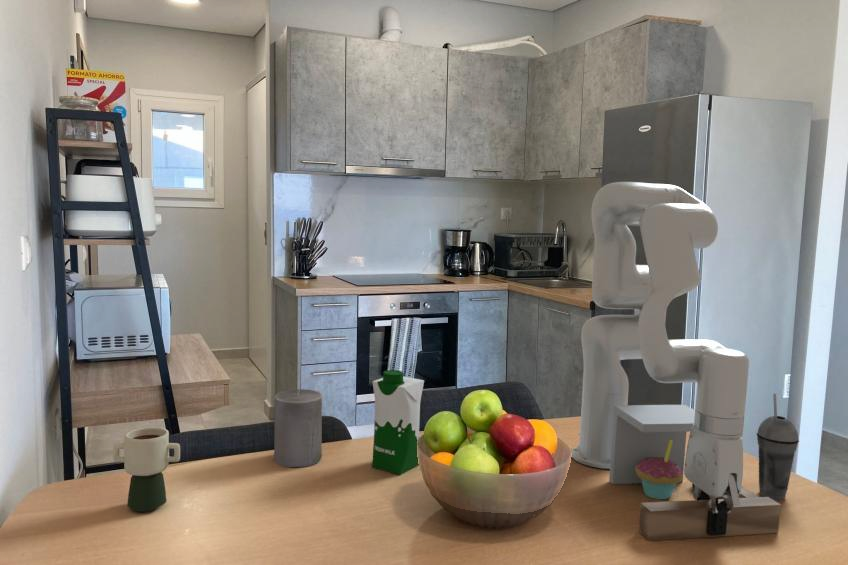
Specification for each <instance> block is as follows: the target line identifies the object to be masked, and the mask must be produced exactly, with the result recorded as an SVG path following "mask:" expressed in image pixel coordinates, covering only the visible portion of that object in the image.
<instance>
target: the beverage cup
mask: <svg viewBox="0 0 848 565" xmlns="http://www.w3.org/2000/svg"><path fill="white" fill-rule="evenodd" d="M772 396H773V415H772V416H769V417H767V418H765V419H764V420H762V422H761V423H760V424H759V427H758V429H757V432H756V436H757V437H756V438H757V446H758V488H759V491H758V492H759V493H758V494H760V495H761V497H769V498H771V499H773V500H774V501H782V500H785V499H786V495H787V491H788V487H789V485H790V484H789V483H790V477H791V473H792V466H793V462H794V456H795V452H796V450H797V447H798V443H800V440H799V432H798V429H797V427H796V425H795V424H794V423H793V422H792V421H791V420H789V418H787V417H784V416H780V415H778V408H777V406H778V405H777V403H778V402H777V393H773V395H772Z"/></svg>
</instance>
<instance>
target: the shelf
mask: <svg viewBox="0 0 848 565" xmlns="http://www.w3.org/2000/svg"><path fill="white" fill-rule="evenodd" d="M694 416H695V408H692V407H690V406H688V405H686V404H633V405H631V404H630V405H629V404H627V405H614V418H613V433H612V448H611V463H610V469H609V481H608V482H609V483H610V484H611V485H627V484H628V485H629V484H630V485H631V484H632V483H634V484H642V481H641V478H639V477H638V476H637V474H636V471H635V467H636V465H637V463H638V462H639V461H641V460H643V459H645V458H647V457H649V458H650V457H665V455H666V451H667V447H668V443H669V439H671V438H672V436H673V439H672V440H673V442H672V446H671V450H670V454H669V458H668V459H670V460H671V461H673V462H674V463H675V464H677V465H678V466H679V468H681V470H682V471H683V472H682V473H683V474H684V467H685V458H686V444H687V443H686V442H687V433H688V432H689V433H690V432H691V428H692V425H693V424H694ZM683 480H684V475H683V476H682V481H681V482H680V483H683V482H684V481H683Z"/></svg>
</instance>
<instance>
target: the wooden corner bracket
mask: <svg viewBox="0 0 848 565" xmlns="http://www.w3.org/2000/svg"><path fill="white" fill-rule="evenodd" d="M721 501H723V498H720V499H718V504H719V503H720V502H721ZM739 501H740V507H738V508H733V509H731V510H730V513H728V516H727V527H726V534H725V535H712V536H710V535H708V534H707V522H708V511H711V499H710V500H695V499H692V500H675V501H674V500H672V501H669V500H668V501H653V502H640V511H639V523H638V532H639V533H640V534H641V536H643V537H644V538H645V539H646V540H647V541H662V540H678V539H680V540H681V539H695V538H715V537H731V536H748V535H762V534H763V535H765V534H766V535H767V534H779V527H780V518H781V508H782V504H781V503H779V502H777V500H774V499H771V498H769V497H764V496H758V495H756V494H755V493H754V492H752V491H750V490H749V489H747V488H746V487H744V486H743V485H742V488H741V492H740V495H739Z"/></svg>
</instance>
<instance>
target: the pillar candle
mask: <svg viewBox="0 0 848 565" xmlns="http://www.w3.org/2000/svg"><path fill="white" fill-rule="evenodd" d="M322 402H323V394H322V393H321V392H319V391H316V390H313V389H301V388H299V389H287V390H282V391H280V392H277V393H276V394H275V395H274V434H273V435H274V443H273V445H274V450H273V455H274V456H273V459H274V462H275V464H277V465H279V466H281V467H284V468H297V467H298V468H301V467H302V468H307V467H312V466H314V465H316V464H318V463H320V461H321V460H322V457H323V450H322V445H323V444H322V442H323V439H322V437H323V436H322V429H323V428H322V424H323V422H322V421H323V420H322V419H323V416H322V414H323V413H322V412H323V403H322Z"/></svg>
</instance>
